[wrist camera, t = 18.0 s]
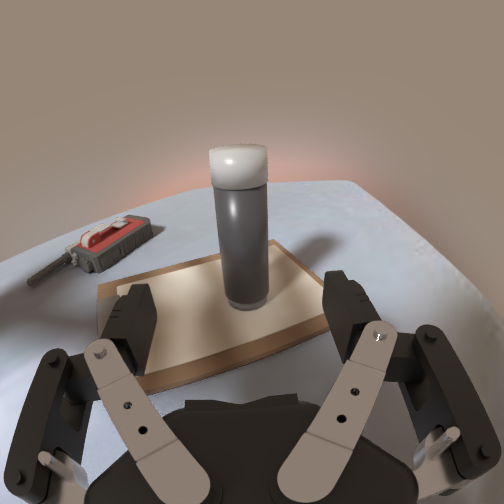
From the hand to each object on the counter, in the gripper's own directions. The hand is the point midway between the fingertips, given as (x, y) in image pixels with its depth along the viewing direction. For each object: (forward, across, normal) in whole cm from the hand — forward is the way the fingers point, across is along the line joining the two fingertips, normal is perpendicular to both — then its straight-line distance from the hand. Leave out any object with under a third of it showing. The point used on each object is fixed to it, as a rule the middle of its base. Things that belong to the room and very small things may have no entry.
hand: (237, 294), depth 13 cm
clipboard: (+11, +3, +10) cm, 15 cm away
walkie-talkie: (+22, +20, +10) cm, 32 cm away
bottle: (+11, -1, +9) cm, 14 cm away
